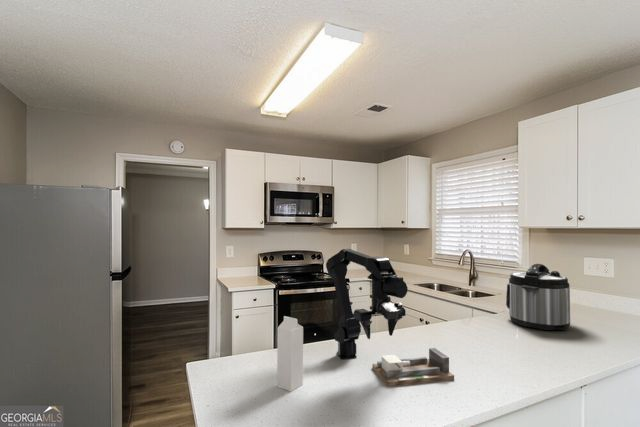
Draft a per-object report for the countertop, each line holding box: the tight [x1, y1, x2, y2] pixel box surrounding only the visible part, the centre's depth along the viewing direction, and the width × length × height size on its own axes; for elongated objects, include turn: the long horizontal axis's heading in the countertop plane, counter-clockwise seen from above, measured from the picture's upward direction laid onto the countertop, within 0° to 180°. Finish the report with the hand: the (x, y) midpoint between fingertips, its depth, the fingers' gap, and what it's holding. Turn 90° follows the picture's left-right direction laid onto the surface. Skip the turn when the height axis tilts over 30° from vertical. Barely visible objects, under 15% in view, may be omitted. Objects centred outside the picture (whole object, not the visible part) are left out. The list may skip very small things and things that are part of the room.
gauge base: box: [371, 347, 455, 387], centre depth 118 cm, size 24×14×6 cm, turn 102°
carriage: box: [381, 354, 410, 373], centre depth 115 cm, size 9×10×4 cm
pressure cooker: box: [505, 263, 571, 331], centre depth 178 cm, size 30×28×32 cm
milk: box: [276, 315, 304, 393], centre depth 109 cm, size 6×6×22 cm
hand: (379, 337), depth 119 cm, fingers open, 9 cm apart
